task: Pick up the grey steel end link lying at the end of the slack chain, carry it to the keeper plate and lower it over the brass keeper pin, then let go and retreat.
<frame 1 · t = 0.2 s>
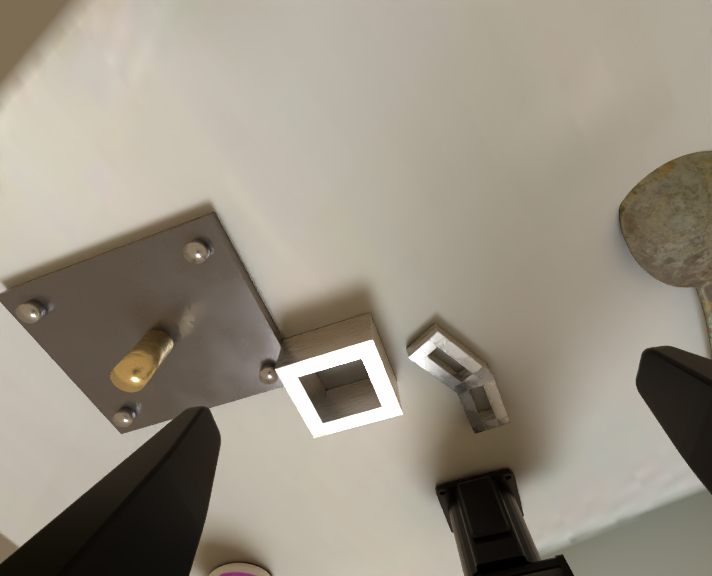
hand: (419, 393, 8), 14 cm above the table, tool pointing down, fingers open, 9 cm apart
soupspoon: (685, 308, 24), on the table
keeper plate: (164, 334, 23), on the table
end link: (342, 361, 24), on the table
supplement bottle: (242, 575, 37), on the table
chain tail: (455, 376, 25), on the table
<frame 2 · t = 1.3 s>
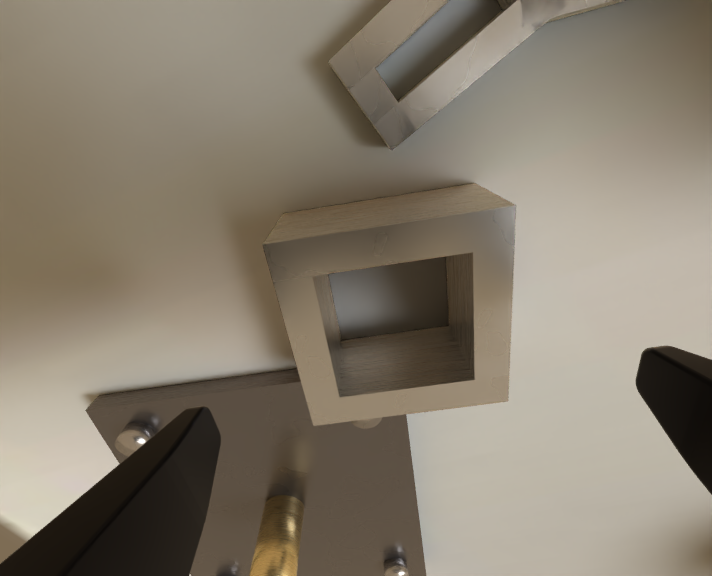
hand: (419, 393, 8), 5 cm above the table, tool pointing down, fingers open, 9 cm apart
keeper plate: (287, 491, 17), on the table
end link: (388, 284, 12), on the table
chain tail: (513, 18, 9), on the table
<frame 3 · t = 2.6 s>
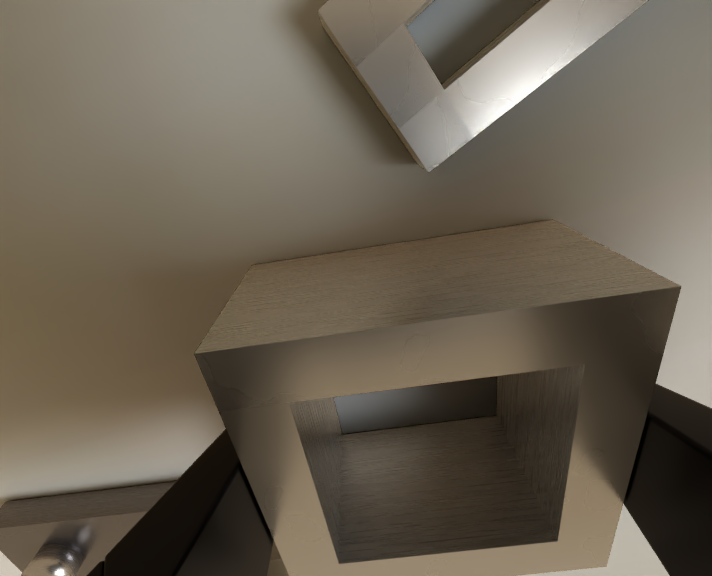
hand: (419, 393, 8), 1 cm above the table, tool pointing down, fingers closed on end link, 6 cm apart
end link: (412, 363, 8), on the table, touching gripper
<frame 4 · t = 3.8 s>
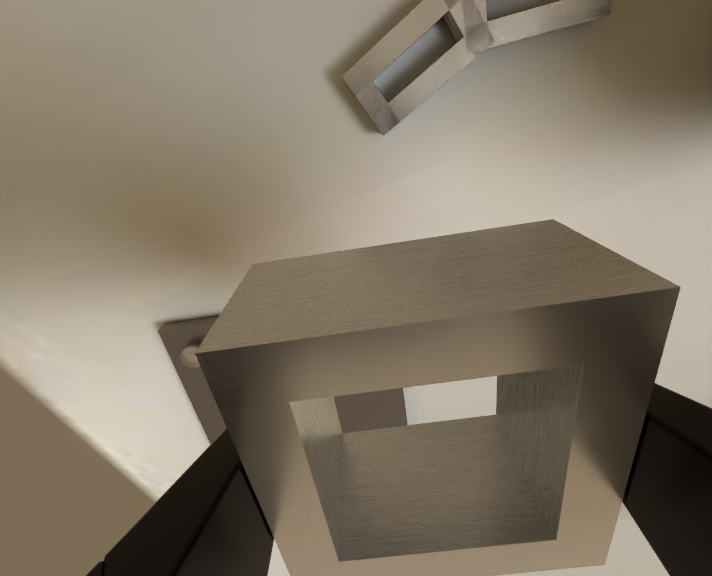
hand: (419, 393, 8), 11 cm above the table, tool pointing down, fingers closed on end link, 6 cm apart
keeper plate: (304, 407, 22), on the table
end link: (411, 362, 8), point 10 cm above the table, touching gripper
chain tail: (464, 47, 14), on the table
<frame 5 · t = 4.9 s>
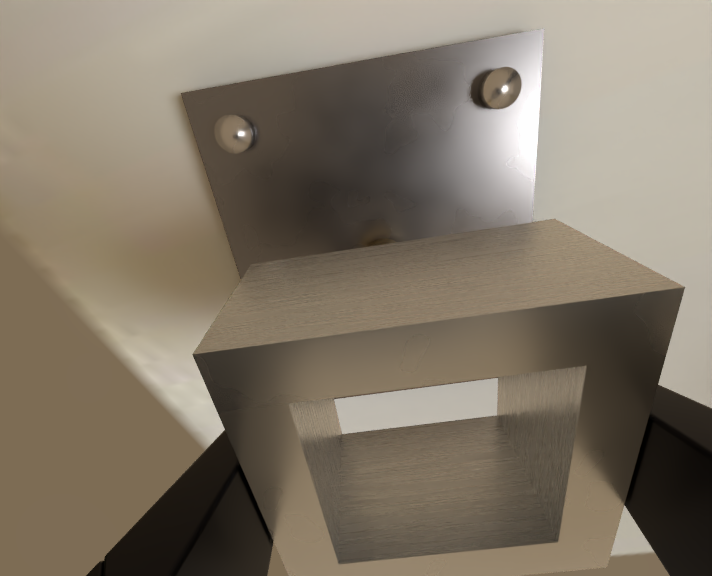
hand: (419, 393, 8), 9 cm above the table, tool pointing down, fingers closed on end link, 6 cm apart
keeper plate: (381, 252, 15), on the table
end link: (412, 363, 8), point 8 cm above the table, touching gripper
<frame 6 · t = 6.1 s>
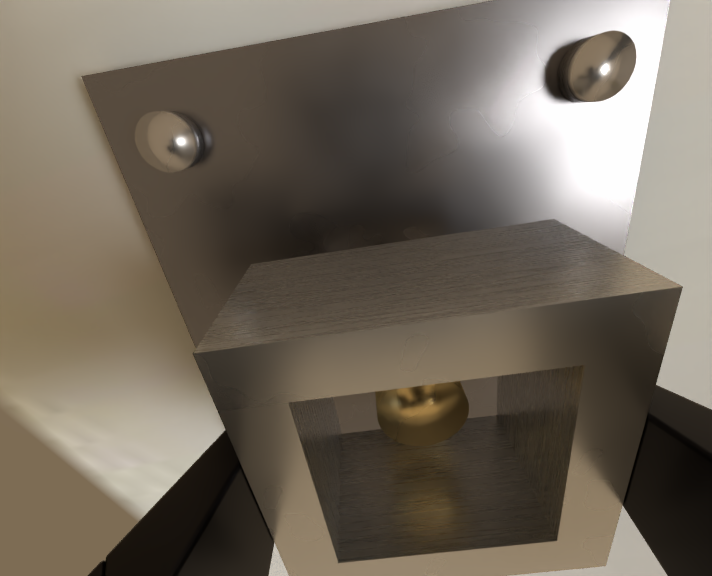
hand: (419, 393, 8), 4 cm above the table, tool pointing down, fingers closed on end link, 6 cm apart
keeper plate: (397, 307, 11), on the table
end link: (411, 362, 8), point 3 cm above the table, touching gripper
when the fingers open (4 cm above the table, at t = 6.2 s): end link drops 2 cm, resting on keeper plate.
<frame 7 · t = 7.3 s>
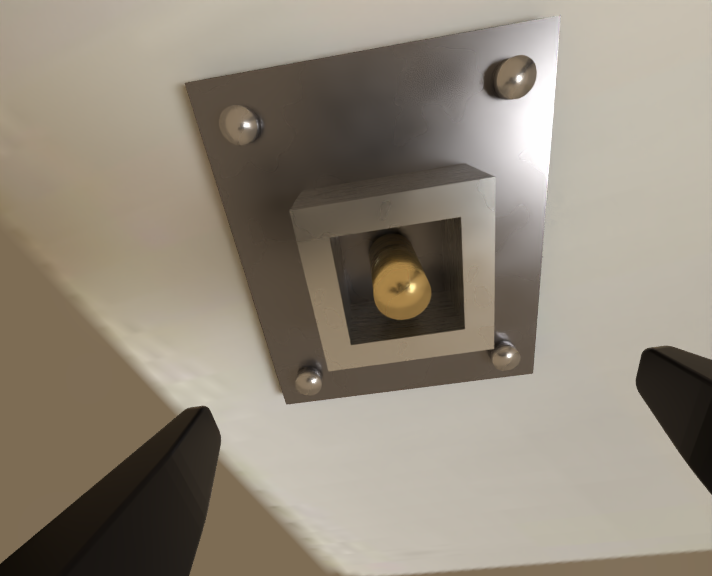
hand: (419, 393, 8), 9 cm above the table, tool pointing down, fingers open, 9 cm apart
keeper plate: (389, 248, 15), on the table
end link: (392, 253, 14), point 1 cm above the table, touching keeper plate
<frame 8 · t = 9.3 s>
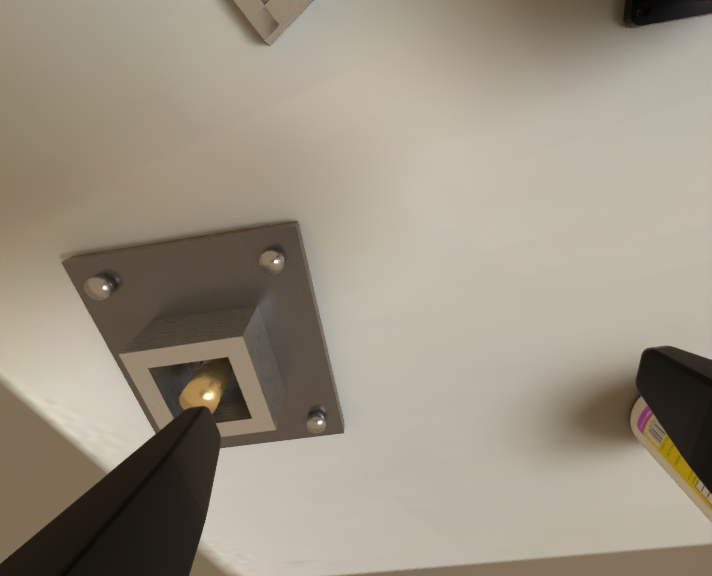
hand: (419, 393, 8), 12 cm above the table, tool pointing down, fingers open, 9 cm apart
keeper plate: (225, 350, 21), on the table
end link: (221, 357, 21), point 1 cm above the table, touching keeper plate
supplement bottle: (674, 402, 24), on the table
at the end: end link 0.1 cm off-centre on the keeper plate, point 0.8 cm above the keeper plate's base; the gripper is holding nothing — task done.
